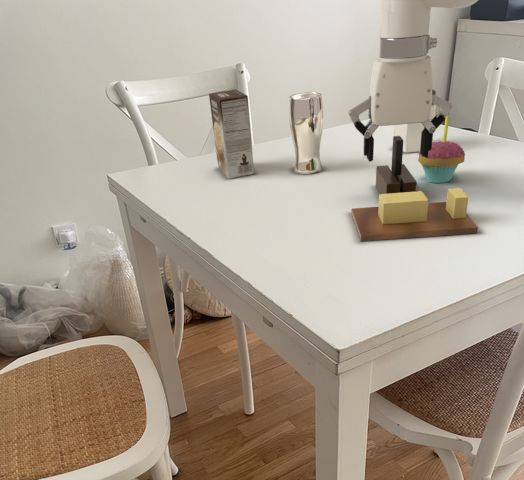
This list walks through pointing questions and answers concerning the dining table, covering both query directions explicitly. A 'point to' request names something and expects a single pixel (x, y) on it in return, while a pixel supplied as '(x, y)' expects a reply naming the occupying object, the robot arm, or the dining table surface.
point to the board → (411, 224)
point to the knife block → (394, 180)
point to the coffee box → (232, 133)
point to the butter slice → (456, 203)
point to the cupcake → (442, 159)
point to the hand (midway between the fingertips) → (396, 157)
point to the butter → (403, 207)
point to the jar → (412, 132)
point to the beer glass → (306, 130)
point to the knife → (397, 157)
